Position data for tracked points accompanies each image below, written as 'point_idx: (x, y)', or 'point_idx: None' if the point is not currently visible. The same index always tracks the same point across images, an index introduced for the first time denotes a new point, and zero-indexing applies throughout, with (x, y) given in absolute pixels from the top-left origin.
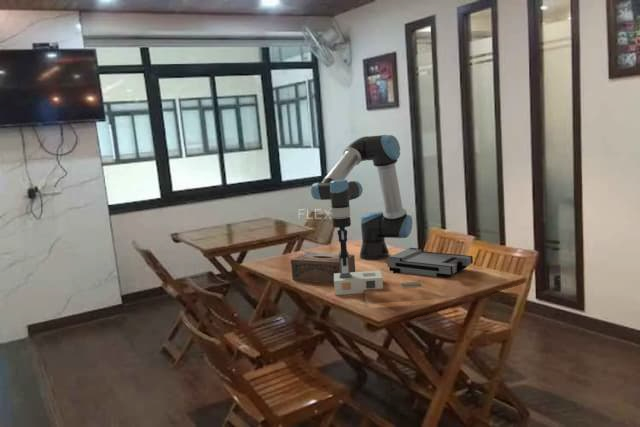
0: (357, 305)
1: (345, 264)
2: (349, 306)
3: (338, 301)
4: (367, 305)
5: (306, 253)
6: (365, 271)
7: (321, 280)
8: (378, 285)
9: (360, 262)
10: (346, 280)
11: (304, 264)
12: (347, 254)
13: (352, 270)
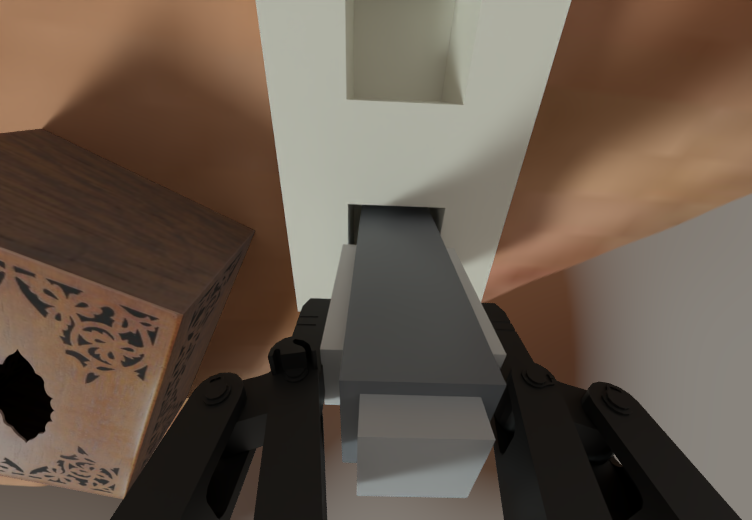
0: (692, 172)
1: (502, 321)
2: (674, 214)
3: (561, 257)
4: (742, 113)
5: None
6: (271, 59)
7: (217, 319)
8: None
9: None
10: (495, 248)
11: (151, 439)
12: (500, 391)
13: (48, 161)
